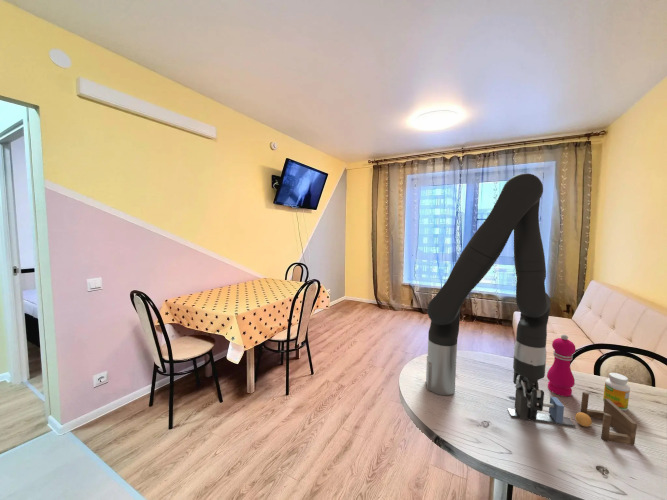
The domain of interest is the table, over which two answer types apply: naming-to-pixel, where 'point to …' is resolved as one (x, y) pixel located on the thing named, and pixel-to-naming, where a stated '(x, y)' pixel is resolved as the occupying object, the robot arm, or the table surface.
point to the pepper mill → (561, 367)
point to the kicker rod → (554, 406)
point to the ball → (583, 419)
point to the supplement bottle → (617, 390)
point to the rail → (543, 418)
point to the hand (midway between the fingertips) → (525, 409)
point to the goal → (612, 421)
